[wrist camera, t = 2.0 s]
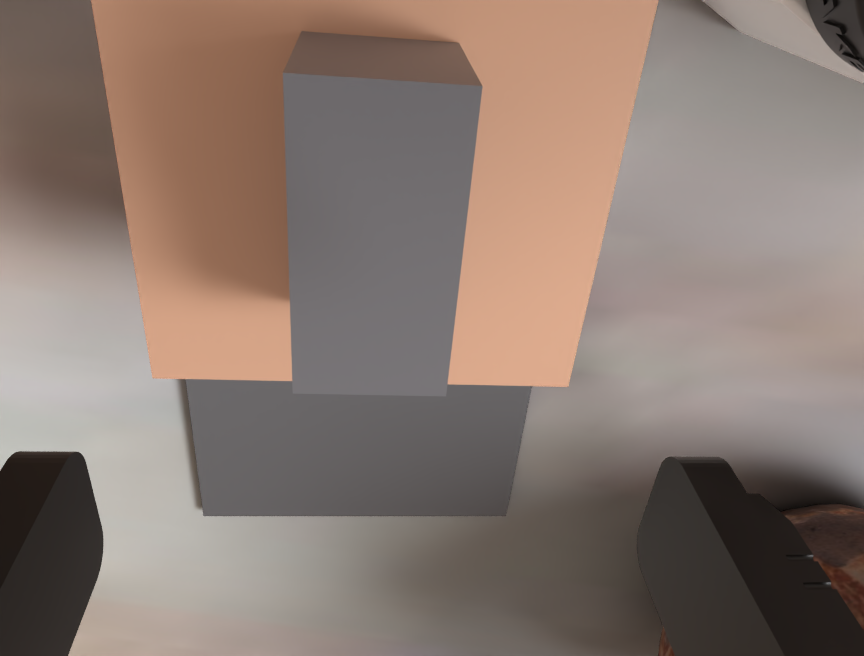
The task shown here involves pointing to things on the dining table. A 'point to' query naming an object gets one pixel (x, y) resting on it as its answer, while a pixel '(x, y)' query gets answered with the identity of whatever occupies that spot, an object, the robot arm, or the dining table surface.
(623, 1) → the lid
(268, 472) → the mat
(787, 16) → the jar
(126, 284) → the dining table surface
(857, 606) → the jug
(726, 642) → the robot arm
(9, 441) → the dining table surface
